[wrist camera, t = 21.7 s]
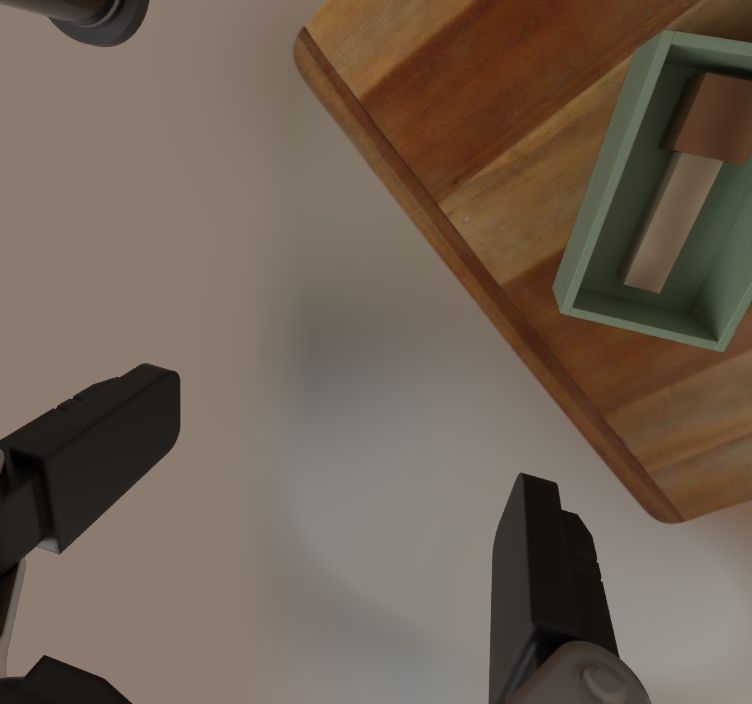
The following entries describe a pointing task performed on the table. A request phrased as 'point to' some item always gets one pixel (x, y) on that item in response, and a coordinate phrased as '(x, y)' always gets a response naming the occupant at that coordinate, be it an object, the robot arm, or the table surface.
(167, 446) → the robot arm
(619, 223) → the bin
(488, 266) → the table surface
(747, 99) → the bar
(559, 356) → the table surface
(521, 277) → the table surface
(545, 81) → the table surface
